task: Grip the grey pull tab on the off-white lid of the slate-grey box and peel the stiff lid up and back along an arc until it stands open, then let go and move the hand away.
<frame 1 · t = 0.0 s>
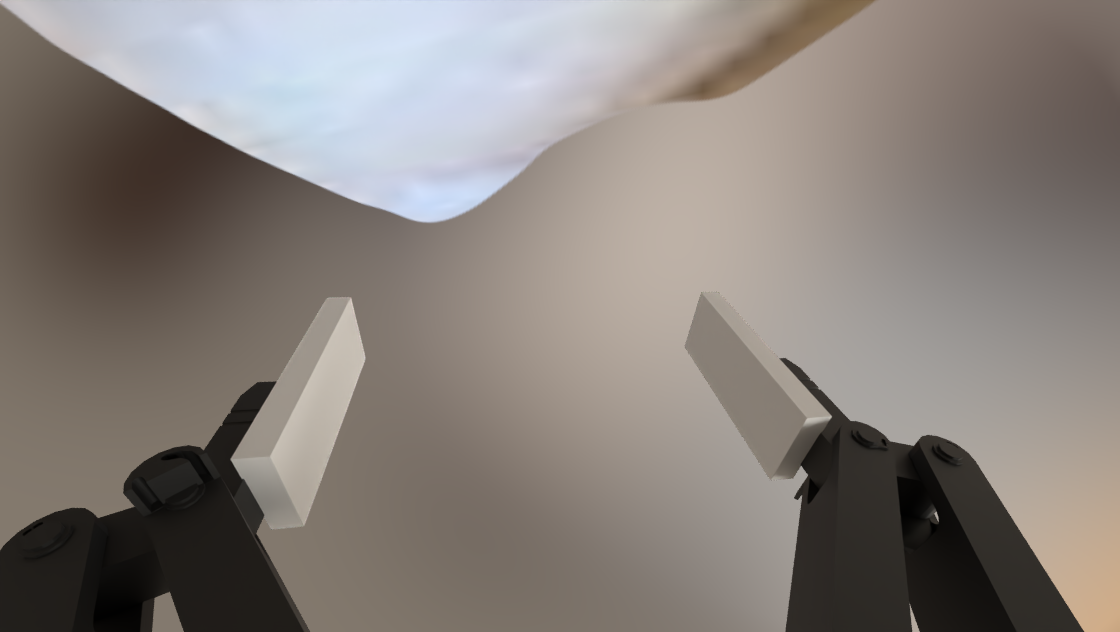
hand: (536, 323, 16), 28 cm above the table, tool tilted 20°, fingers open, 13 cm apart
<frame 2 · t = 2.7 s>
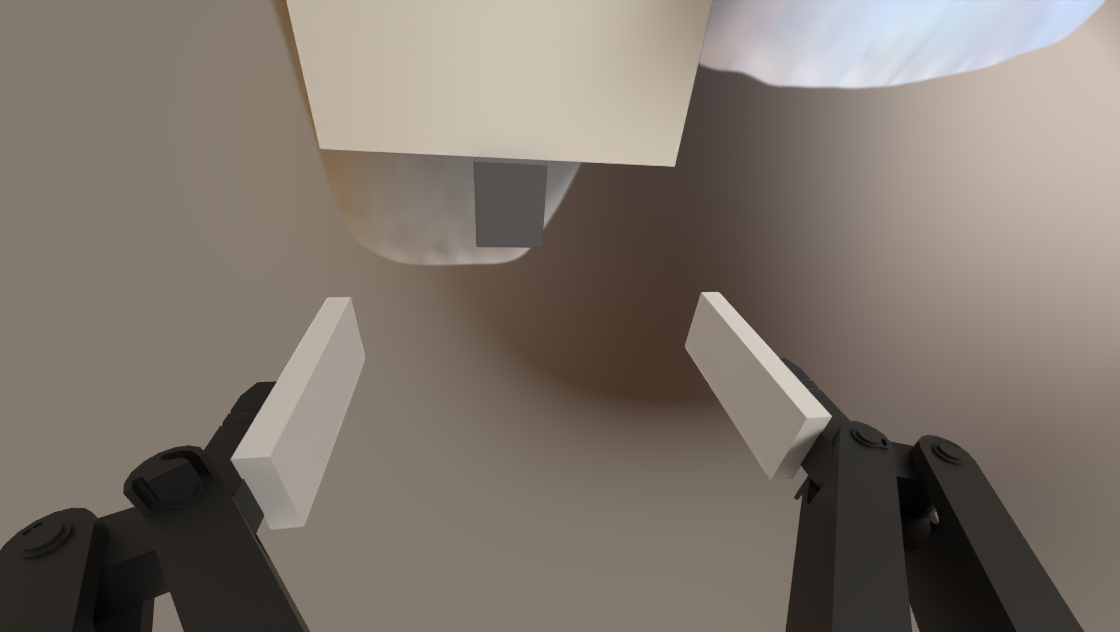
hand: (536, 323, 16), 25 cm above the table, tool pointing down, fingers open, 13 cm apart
lid: (511, 11, 20), point 13 cm above the table, hinge at 0.0°
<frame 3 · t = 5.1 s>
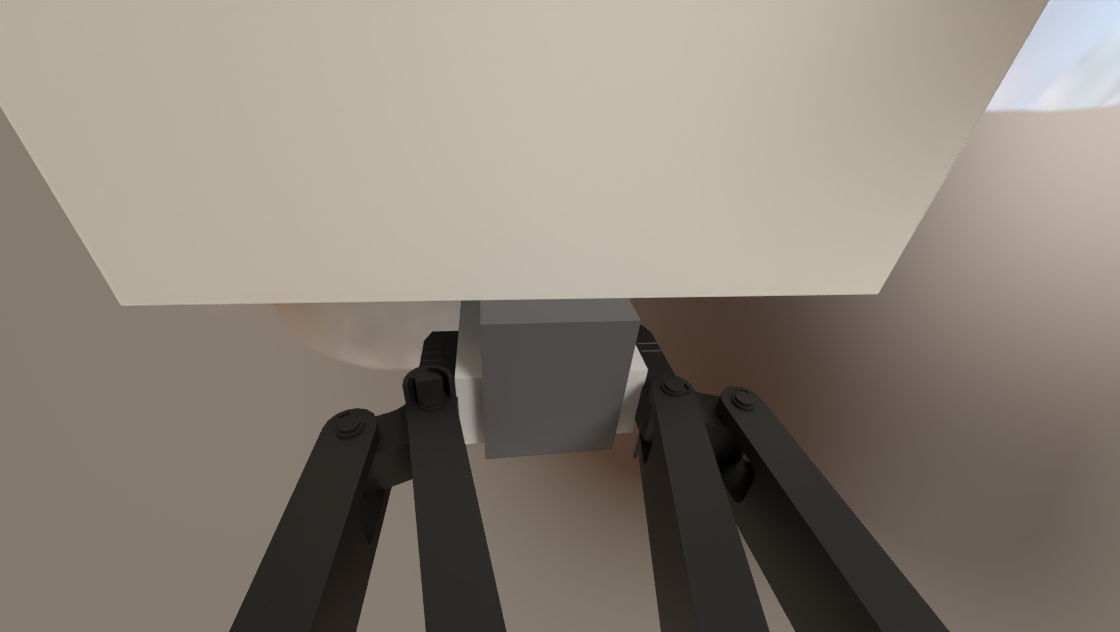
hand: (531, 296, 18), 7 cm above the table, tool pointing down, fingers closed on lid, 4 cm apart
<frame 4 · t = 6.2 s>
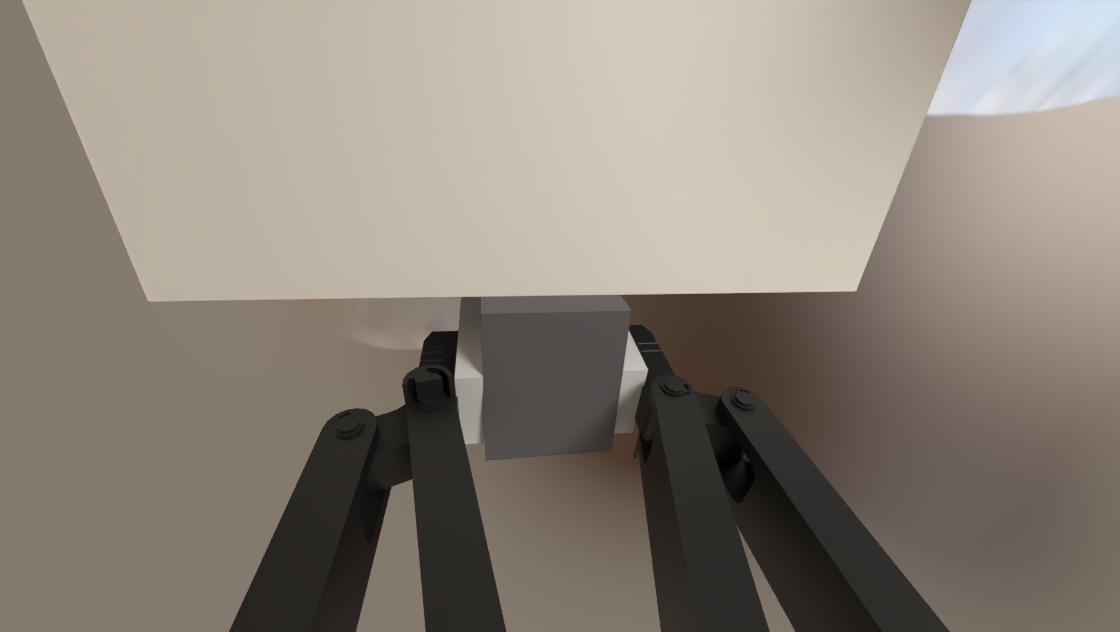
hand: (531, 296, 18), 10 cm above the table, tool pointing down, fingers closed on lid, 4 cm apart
lid: (563, 6, 9), point 14 cm above the table, hinge at 7.4°, touching gripper
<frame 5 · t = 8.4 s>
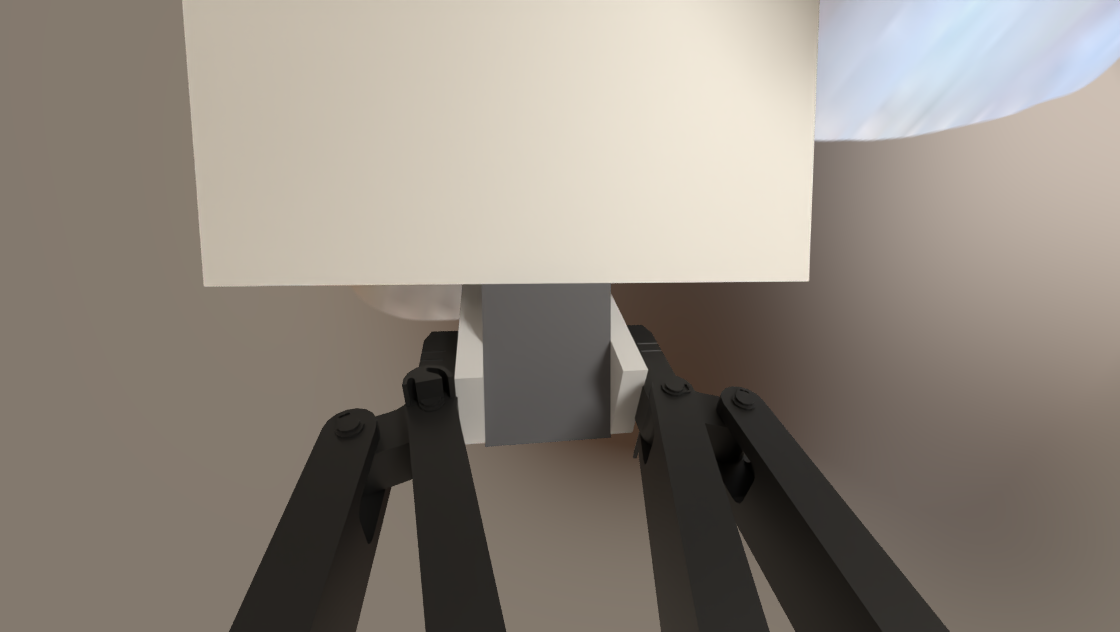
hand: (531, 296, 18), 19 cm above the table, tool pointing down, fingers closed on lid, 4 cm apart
lid: (539, 76, 14), point 18 cm above the table, hinge at 29.2°, touching gripper
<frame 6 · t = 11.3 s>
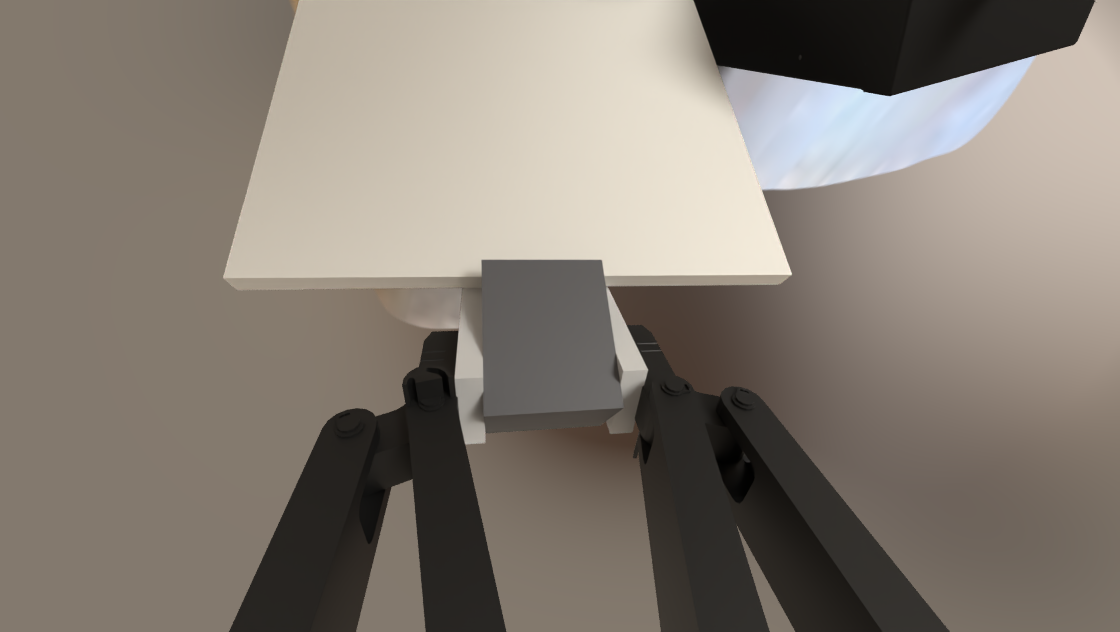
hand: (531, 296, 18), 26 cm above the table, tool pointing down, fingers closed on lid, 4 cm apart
lid: (528, 142, 18), point 23 cm above the table, hinge at 58.8°, touching gripper
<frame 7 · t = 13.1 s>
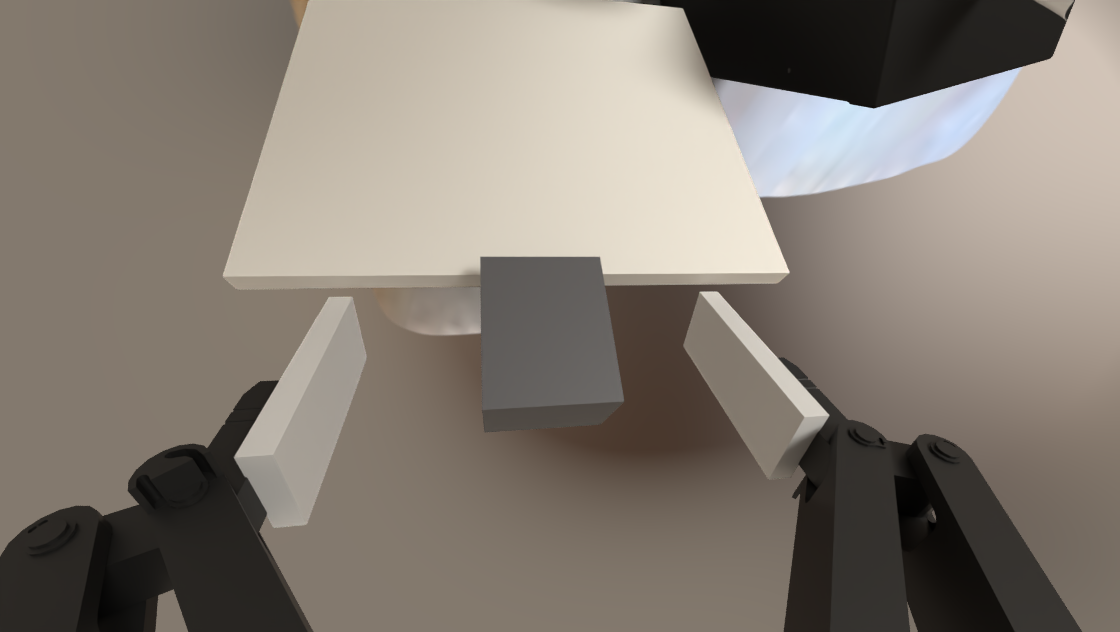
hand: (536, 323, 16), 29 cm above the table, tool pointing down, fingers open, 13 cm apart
lid: (526, 147, 18), point 23 cm above the table, hinge at 60.5°
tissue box: (703, 6, 36), on the table
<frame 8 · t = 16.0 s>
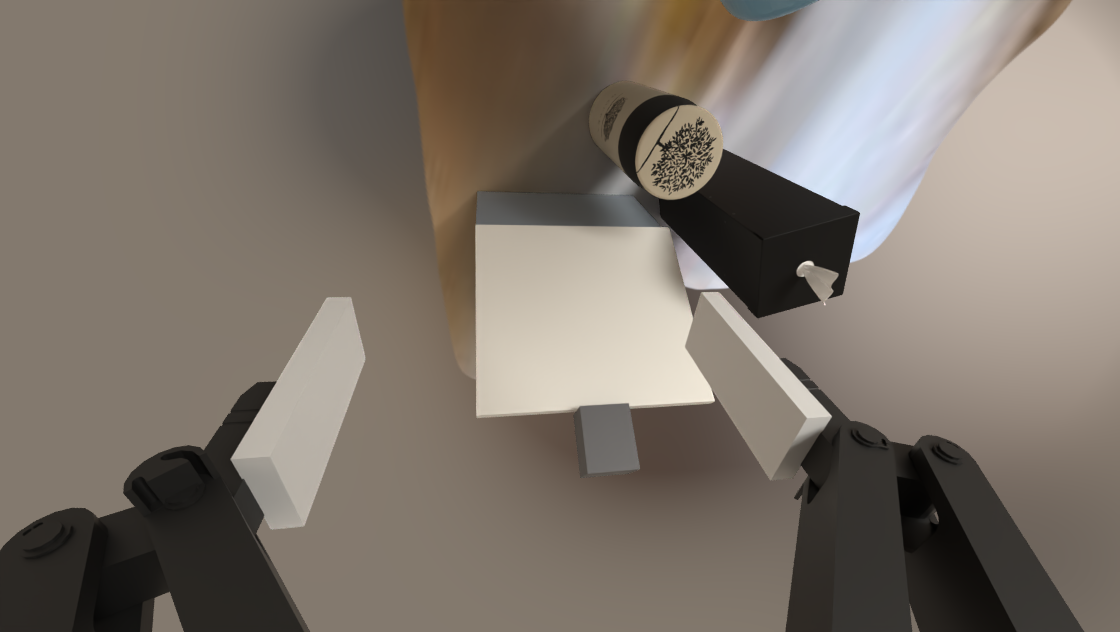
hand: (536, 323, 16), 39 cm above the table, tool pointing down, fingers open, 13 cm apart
carton: (552, 257, 58), on the table
lid: (589, 333, 37), point 23 cm above the table, hinge at 60.6°
travel mug: (620, 119, 49), on the table
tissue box: (685, 181, 54), on the table
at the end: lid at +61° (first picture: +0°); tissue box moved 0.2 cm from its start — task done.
